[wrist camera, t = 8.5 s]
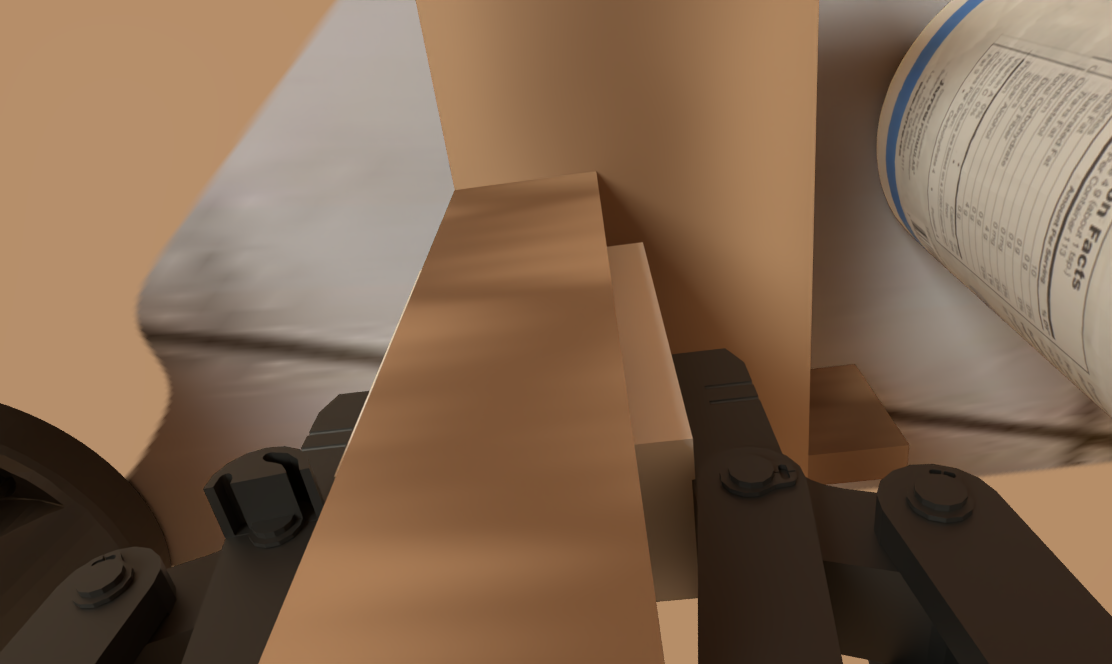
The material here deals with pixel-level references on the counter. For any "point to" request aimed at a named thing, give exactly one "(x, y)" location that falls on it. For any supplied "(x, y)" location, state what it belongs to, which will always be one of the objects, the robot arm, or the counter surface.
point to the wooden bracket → (576, 329)
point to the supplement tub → (1014, 168)
